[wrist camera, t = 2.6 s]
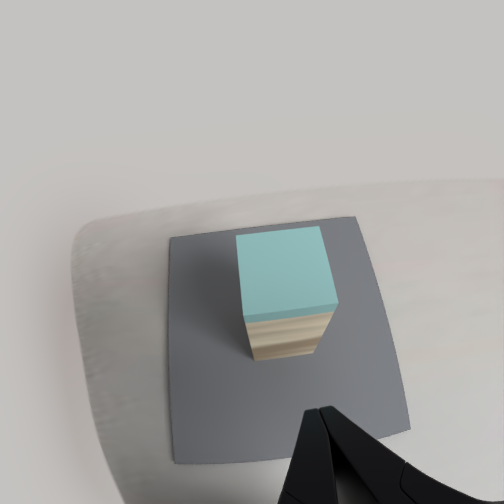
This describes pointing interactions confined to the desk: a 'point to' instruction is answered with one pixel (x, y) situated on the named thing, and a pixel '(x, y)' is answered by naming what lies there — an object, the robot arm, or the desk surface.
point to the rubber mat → (279, 369)
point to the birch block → (285, 291)
